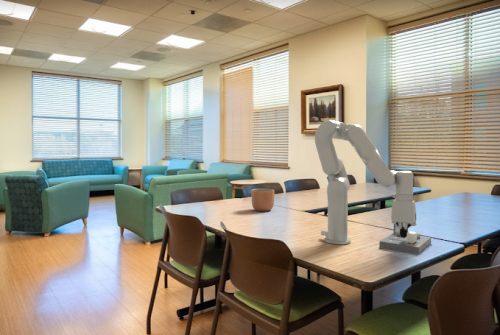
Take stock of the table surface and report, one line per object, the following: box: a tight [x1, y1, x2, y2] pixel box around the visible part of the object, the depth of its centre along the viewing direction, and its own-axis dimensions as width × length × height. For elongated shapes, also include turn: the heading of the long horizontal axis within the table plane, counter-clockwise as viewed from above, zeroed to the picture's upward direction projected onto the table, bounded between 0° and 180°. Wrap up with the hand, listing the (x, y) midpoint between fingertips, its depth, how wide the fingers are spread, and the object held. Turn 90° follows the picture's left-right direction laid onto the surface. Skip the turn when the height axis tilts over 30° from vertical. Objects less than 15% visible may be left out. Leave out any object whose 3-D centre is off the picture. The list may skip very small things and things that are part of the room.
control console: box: [379, 231, 432, 255], centre depth 169 cm, size 17×22×5 cm
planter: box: [250, 188, 275, 212], centre depth 265 cm, size 17×17×15 cm
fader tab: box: [407, 230, 418, 243], centre depth 164 cm, size 3×5×4 cm, turn 141°
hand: (403, 237), depth 166 cm, fingers closed
